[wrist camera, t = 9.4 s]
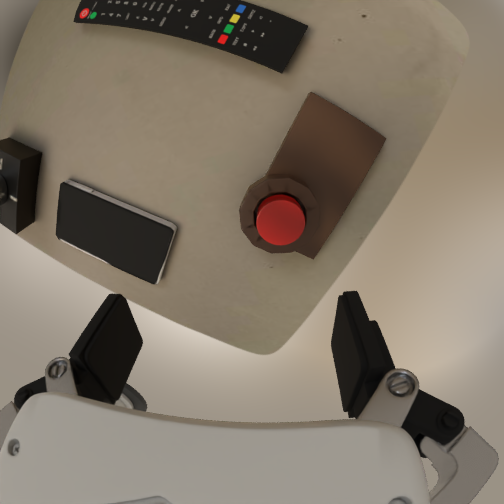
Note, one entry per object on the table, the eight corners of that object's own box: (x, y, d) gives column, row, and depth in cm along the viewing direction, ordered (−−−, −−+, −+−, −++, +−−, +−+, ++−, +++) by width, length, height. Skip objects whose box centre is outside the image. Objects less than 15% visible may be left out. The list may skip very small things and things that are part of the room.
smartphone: (157, 287, 30) (55, 238, 28) (160, 281, 31) (60, 234, 29) (175, 228, 27) (60, 179, 24) (178, 223, 28) (66, 176, 25)
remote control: (281, 74, 20) (282, 72, 19) (77, 23, 16) (70, 21, 15) (306, 30, 18) (308, 26, 17) (97, -15, 14) (91, -18, 13)
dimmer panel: (34, 222, 28) (16, 235, 25) (3, 201, 27) (-16, 212, 23) (42, 152, 24) (19, 160, 20) (8, 137, 22) (-13, 143, 19)
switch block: (309, 257, 29) (313, 272, 26) (231, 221, 27) (227, 233, 25) (381, 137, 22) (394, 140, 20) (299, 87, 21) (303, 84, 18)
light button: (289, 243, 25) (290, 252, 24) (249, 225, 24) (248, 233, 23) (310, 206, 23) (314, 213, 22) (269, 186, 23) (270, 191, 21)
